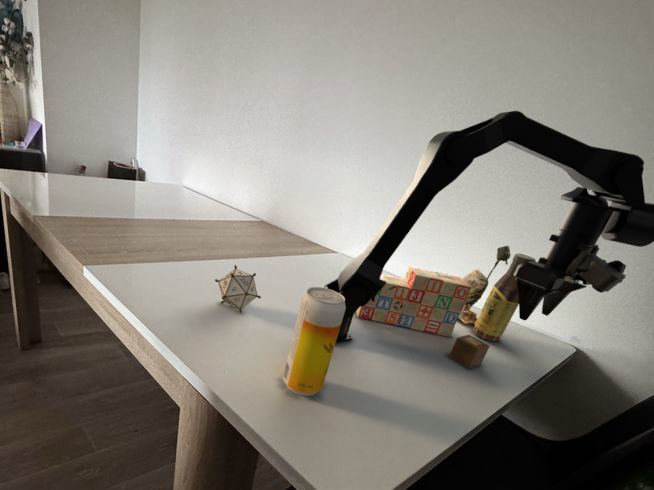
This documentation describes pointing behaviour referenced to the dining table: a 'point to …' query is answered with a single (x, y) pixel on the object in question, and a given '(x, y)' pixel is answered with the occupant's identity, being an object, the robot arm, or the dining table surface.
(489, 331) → the sauce bottle
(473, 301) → the plant with pod
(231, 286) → the game die
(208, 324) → the dining table surface
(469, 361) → the wooden cube
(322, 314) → the beer can
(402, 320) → the stack of blocks
